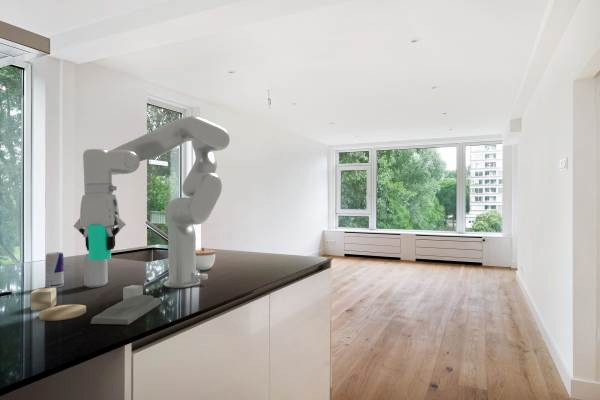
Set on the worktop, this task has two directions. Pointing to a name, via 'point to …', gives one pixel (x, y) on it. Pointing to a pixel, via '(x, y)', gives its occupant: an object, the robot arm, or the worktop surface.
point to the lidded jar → (204, 259)
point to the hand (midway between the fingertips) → (100, 249)
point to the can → (95, 272)
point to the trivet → (62, 312)
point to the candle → (98, 243)
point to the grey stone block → (132, 291)
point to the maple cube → (43, 298)
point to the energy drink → (54, 270)
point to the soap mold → (127, 310)
